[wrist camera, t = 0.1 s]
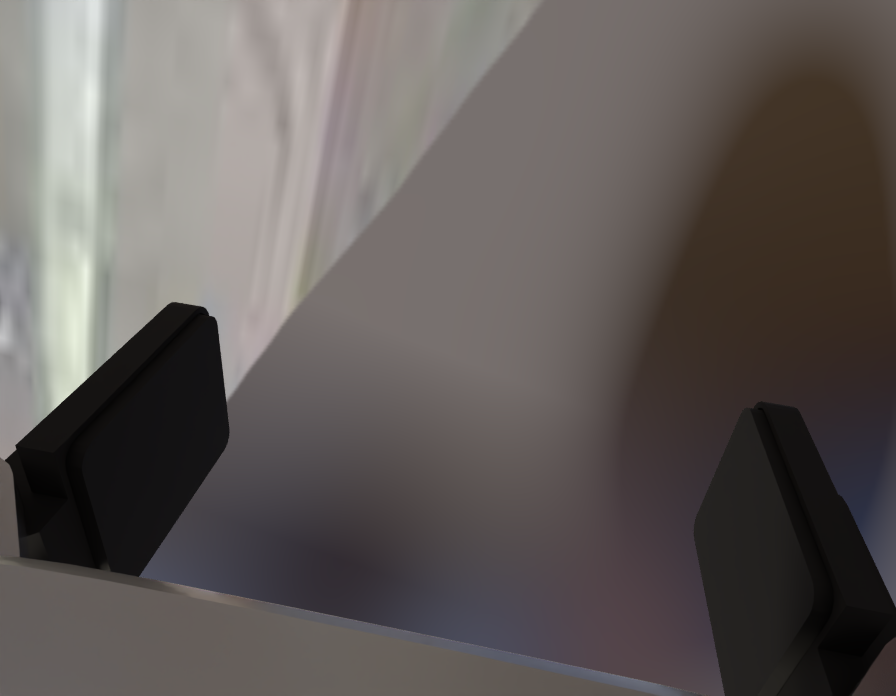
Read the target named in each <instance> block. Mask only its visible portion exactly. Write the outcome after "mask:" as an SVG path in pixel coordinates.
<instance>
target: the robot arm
mask: <svg viewBox="0 0 896 696" xmlns="http://www.w3.org/2000/svg"><path fill="white" fill-rule="evenodd" d="M228 438H229V422H228V413H227V404H226V396H225V387H224V378H223V369H222V361H221V352H220V343H219V334H218V325H217V321H216V319H215V318H214V317H212V316H209V313H208V311H207V310H206V308H204V307H201V306H195V305H189V304H183V303H177V302H171V303H170V304H168V305H167V306H166V307H165V308H164V309H163V310H162V311H160V312H159V313H158V314H157V315H156V316H155V317H154V318H153V319H152V320H151V321H150V322H149V323H147V324H146V325H145V326H144V327H143V328H142V329H141V330H140V331H139V332H138V333H137V334H136V335H134V336H133V337H132V338H131V339H130V340H129V341H128V342H127V343H126V344H125V345H124V346H123V347H121V348H120V349H119V350H118V351H117V352H116V353H115V354H114V355H113V356H112V357H111V358H110V359H108V360H107V361H106V362H105V363H104V364H103V365H102V366H101V367H100V368H99V369H98V370H97V371H95V372H94V373H93V374H92V375H91V376H90V377H89V378H88V379H87V380H86V381H85V382H84V383H82V384H81V385H80V386H79V387H78V388H77V389H76V390H75V391H74V392H73V393H72V394H71V395H69V396H68V397H67V398H66V399H65V400H64V401H63V402H62V403H61V404H60V405H59V406H58V407H56V408H55V409H54V410H53V411H52V412H51V413H50V414H49V415H48V416H47V417H46V418H45V419H43V420H42V421H41V422H40V423H39V424H38V425H37V426H36V427H35V428H34V429H33V430H32V431H30V432H29V433H28V434H27V435H26V436H25V437H24V438H23V439H22V440H21V441H20V442H19V443H17V444H16V445H15V446H16V449H17V450H16V451H14V452H13V453H12V454H11V455H10V456H9V457H8V458H7V459H6V460H5V461H4V460H3V459H1V458H0V696H708V695H703V694H699V693H694V692H690V691H686V690H681V689H677V688H673V687H668V686H664V685H659V684H655V683H650V682H646V681H642V680H637V679H632V678H627V677H623V676H618V675H613V674H609V673H604V672H599V671H594V670H589V669H585V668H581V667H576V666H571V665H566V664H562V663H557V662H552V661H547V660H543V659H538V658H533V657H529V656H524V655H519V654H515V653H510V652H505V651H501V650H496V649H491V648H486V647H481V646H476V645H472V644H467V643H462V642H457V641H453V640H447V639H443V638H438V637H433V636H428V635H424V634H419V633H414V632H409V631H404V630H400V629H395V628H390V627H385V626H380V625H376V624H371V623H366V622H361V621H356V620H351V619H346V618H342V617H336V616H332V615H327V614H322V613H317V612H312V611H307V610H303V609H298V608H293V607H288V606H283V605H278V604H273V603H268V602H263V601H258V600H253V599H248V598H243V597H237V596H233V595H228V594H223V593H218V592H213V591H208V590H203V589H198V588H193V587H188V586H183V585H178V584H173V583H168V582H163V581H158V580H153V579H147V578H142V577H139V576H140V574H141V573H142V571H143V570H144V568H145V567H146V566H147V564H148V562H149V561H150V560H151V558H152V557H153V555H154V554H155V552H156V550H157V549H158V548H159V546H160V545H161V543H162V542H163V540H164V539H165V537H166V536H167V534H168V533H169V531H170V530H171V528H172V527H173V525H174V524H175V522H176V521H177V519H178V518H179V516H180V515H181V514H182V512H183V511H184V509H185V508H186V506H187V505H188V503H189V501H190V500H191V499H192V497H193V496H194V494H195V493H196V491H197V490H198V488H199V487H200V485H201V484H202V482H203V481H204V479H205V478H206V476H207V475H208V473H209V472H210V470H211V469H212V467H213V466H214V464H215V463H216V462H217V460H218V459H219V457H220V456H221V454H222V452H223V451H224V449H225V448H226V445H227V443H228ZM694 540H695V545H696V549H697V555H698V560H699V565H700V570H701V575H702V580H703V586H704V590H705V596H706V601H707V606H708V611H709V616H710V621H711V626H712V631H713V636H714V642H715V647H716V652H717V657H718V662H719V667H720V672H721V678H722V683H723V688H724V693H725V696H896V607H895V605H894V603H893V601H892V599H891V597H890V594H889V592H888V590H887V588H886V586H885V584H884V582H883V580H882V578H881V575H880V573H879V571H878V569H877V567H876V565H875V563H874V561H873V558H872V556H871V554H870V552H869V550H868V548H867V546H866V544H865V542H864V539H863V537H862V535H861V533H860V531H859V529H858V527H857V525H856V523H855V520H854V518H853V516H852V514H851V512H850V510H849V508H848V506H847V504H846V502H845V501H844V499H843V498H842V497H841V496H840V495H838V493H837V491H836V489H835V487H834V485H833V483H832V481H831V479H830V476H829V474H828V472H827V470H826V468H825V465H824V463H823V461H822V459H821V457H820V455H819V452H818V450H817V448H816V446H815V444H814V442H813V440H812V438H811V435H810V433H809V431H808V429H807V427H806V425H805V422H804V420H803V418H802V416H801V414H800V412H799V410H798V409H797V408H795V407H790V406H785V405H779V404H773V403H767V402H762V401H761V402H758V403H757V404H756V405H755V406H754V408H753V409H752V408H745V409H744V410H743V411H742V413H741V415H740V417H739V419H738V422H737V424H736V426H735V429H734V431H733V433H732V435H731V438H730V440H729V442H728V445H727V447H726V449H725V452H724V454H723V456H722V458H721V461H720V463H719V465H718V468H717V470H716V472H715V475H714V477H713V479H712V481H711V484H710V486H709V489H708V491H707V493H706V495H705V498H704V500H703V502H702V505H701V507H700V509H699V512H698V514H697V516H696V519H695V524H694Z"/></svg>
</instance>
